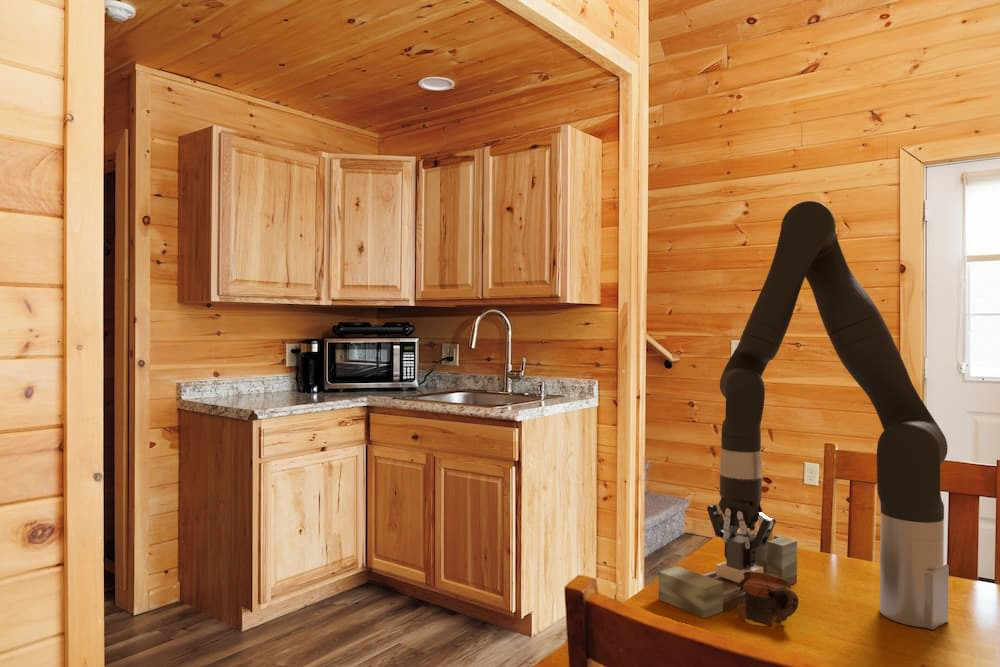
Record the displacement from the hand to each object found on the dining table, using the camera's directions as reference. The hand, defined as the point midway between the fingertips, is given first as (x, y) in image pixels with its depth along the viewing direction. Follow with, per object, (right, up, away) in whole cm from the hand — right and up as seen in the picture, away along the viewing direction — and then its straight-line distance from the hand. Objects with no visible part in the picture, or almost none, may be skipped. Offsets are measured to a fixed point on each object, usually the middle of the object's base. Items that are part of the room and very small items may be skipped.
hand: (739, 564), depth 129 cm
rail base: (-2, -4, -2) cm, 5 cm away
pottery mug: (0, -5, -13) cm, 14 cm away
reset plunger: (+7, 0, +5) cm, 8 cm away
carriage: (0, -2, 0) cm, 2 cm away
